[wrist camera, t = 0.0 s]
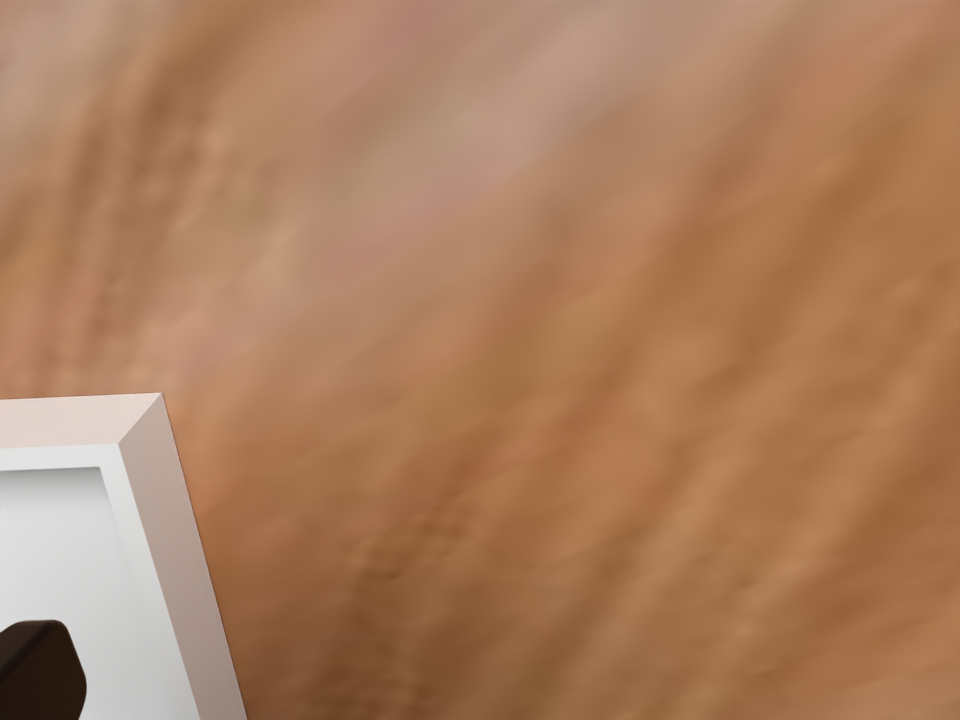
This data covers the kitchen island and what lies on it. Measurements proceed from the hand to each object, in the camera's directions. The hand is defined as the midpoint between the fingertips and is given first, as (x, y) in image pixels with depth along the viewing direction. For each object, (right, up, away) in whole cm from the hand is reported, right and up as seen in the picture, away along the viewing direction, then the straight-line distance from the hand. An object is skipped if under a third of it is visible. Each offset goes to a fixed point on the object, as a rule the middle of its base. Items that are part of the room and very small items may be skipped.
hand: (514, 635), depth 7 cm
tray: (-15, -6, +19) cm, 25 cm away
